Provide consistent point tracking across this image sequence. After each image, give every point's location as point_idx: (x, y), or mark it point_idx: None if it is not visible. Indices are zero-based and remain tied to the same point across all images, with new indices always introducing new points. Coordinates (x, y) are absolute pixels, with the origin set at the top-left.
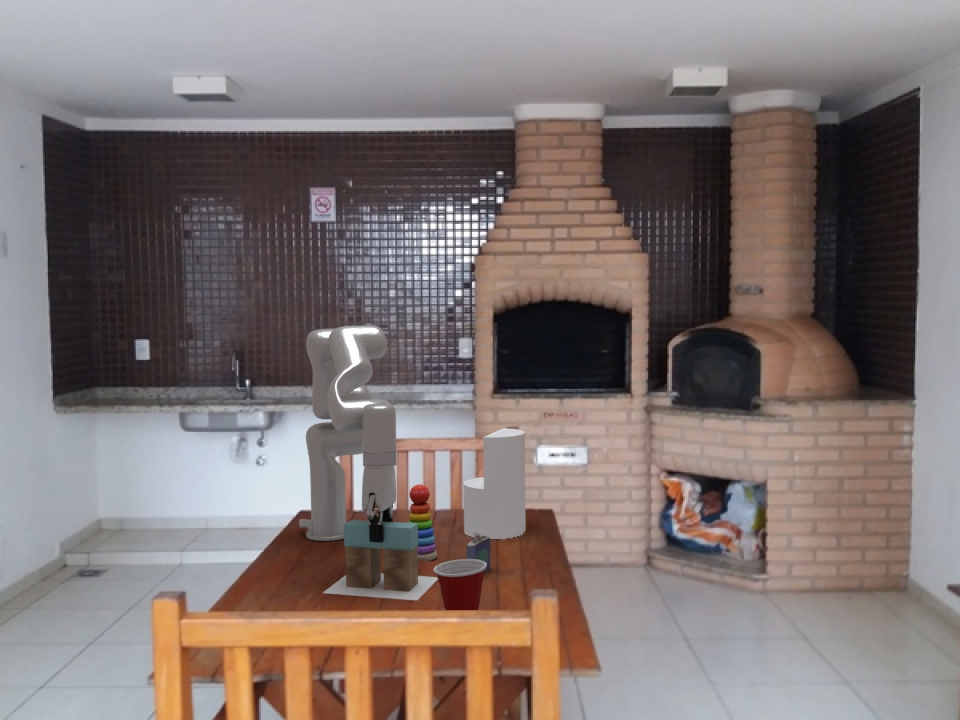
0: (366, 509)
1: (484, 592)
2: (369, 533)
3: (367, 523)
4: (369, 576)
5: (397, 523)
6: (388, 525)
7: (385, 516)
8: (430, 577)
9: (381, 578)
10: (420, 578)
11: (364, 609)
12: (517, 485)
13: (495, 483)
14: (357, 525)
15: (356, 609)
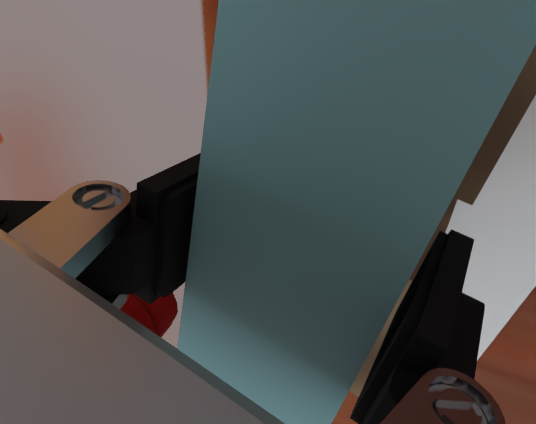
0: (10, 236)
1: (339, 413)
2: (200, 154)
3: (293, 160)
4: None
5: (282, 418)
6: (223, 339)
7: (369, 412)
8: (484, 335)
9: (533, 126)
10: (480, 298)
11: (206, 64)
12: None
13: None
14: (217, 26)
15: (204, 33)
